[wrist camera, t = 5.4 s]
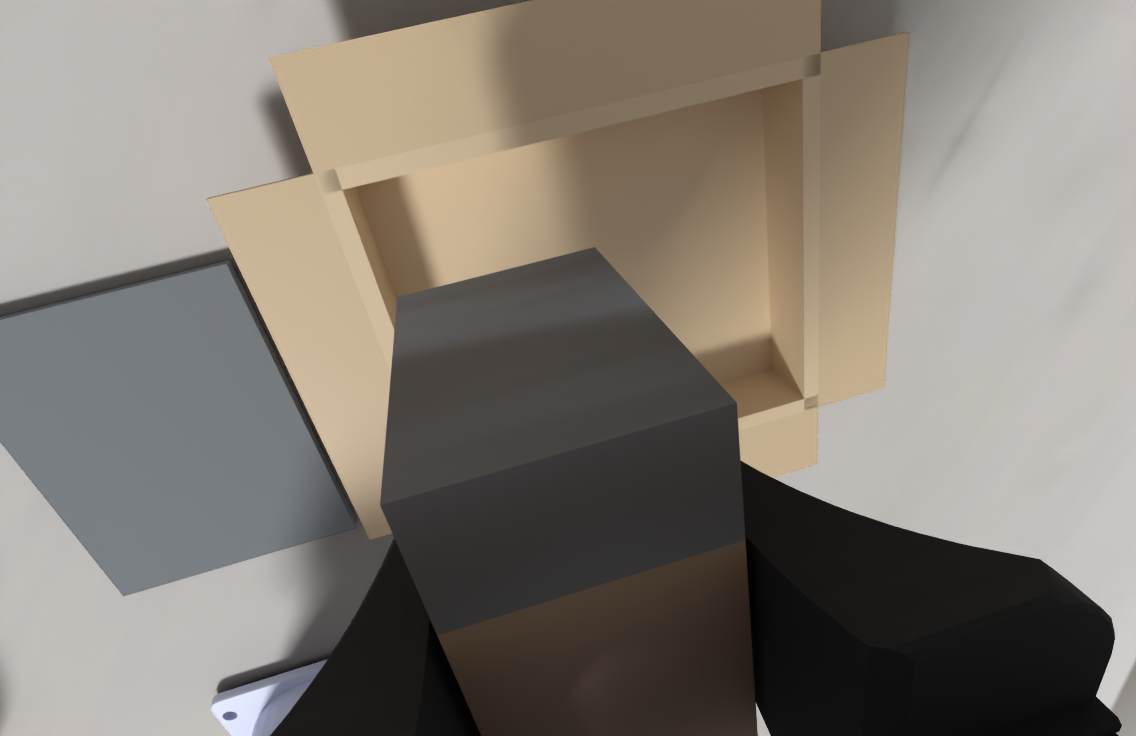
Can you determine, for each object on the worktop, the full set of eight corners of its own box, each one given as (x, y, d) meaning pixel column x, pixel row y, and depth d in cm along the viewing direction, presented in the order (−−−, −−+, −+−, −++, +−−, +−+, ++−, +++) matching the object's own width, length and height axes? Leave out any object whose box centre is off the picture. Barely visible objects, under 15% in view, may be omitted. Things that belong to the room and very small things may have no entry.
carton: (839, 409, 25) (880, 444, 23) (397, 542, 23) (395, 593, 21) (853, -67, 17) (917, -84, 15) (188, 78, 15) (150, 83, 13)
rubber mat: (356, 520, 22) (355, 527, 22) (128, 587, 21) (123, 596, 21) (229, 259, 17) (226, 263, 17) (-72, 334, 17) (-82, 339, 16)
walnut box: (646, 548, 16) (761, 799, 10) (500, 593, 15) (543, 876, 10) (595, 247, 12) (736, 402, 7) (397, 296, 11) (379, 504, 6)
